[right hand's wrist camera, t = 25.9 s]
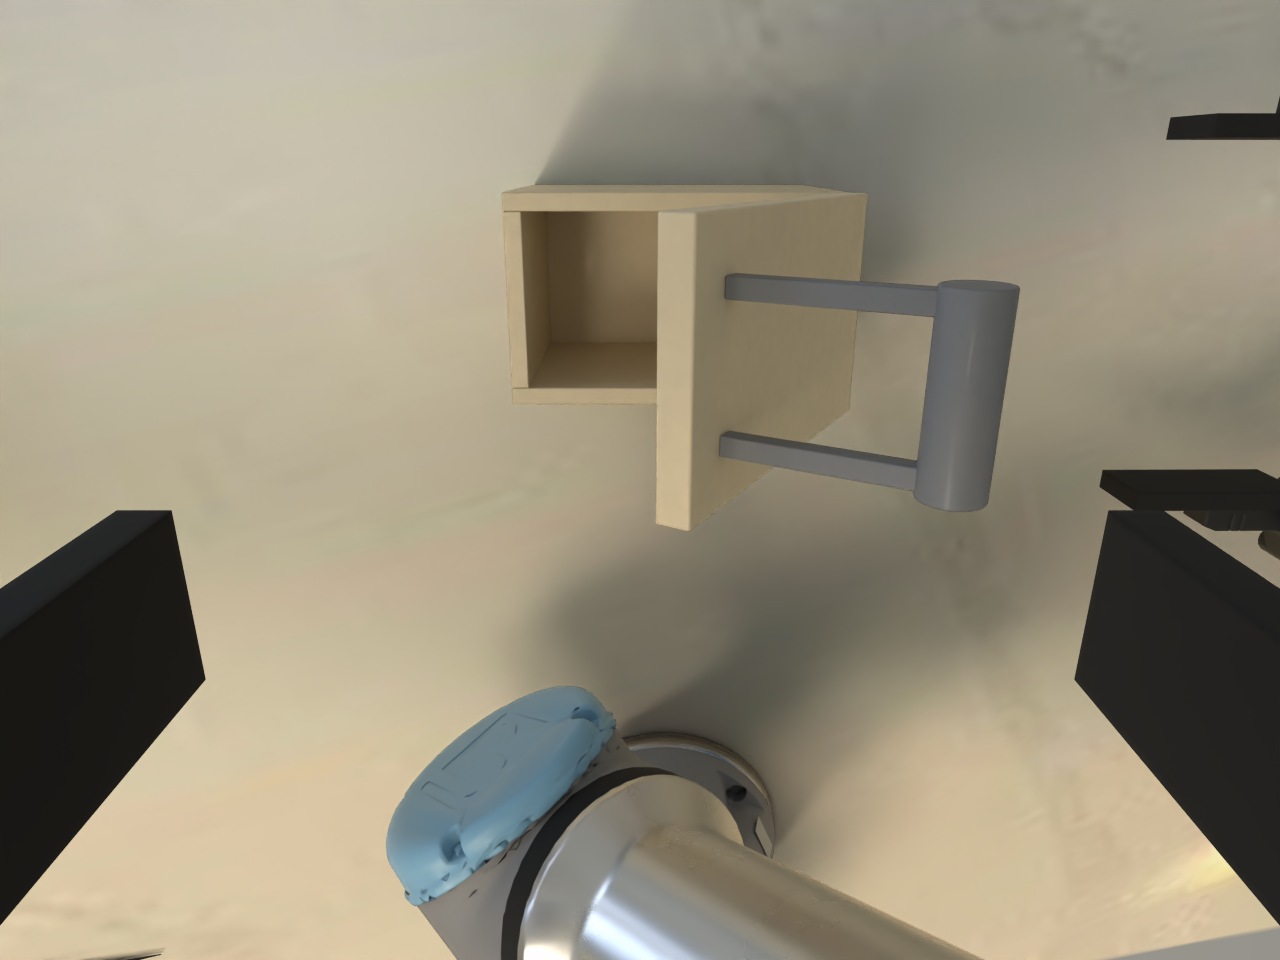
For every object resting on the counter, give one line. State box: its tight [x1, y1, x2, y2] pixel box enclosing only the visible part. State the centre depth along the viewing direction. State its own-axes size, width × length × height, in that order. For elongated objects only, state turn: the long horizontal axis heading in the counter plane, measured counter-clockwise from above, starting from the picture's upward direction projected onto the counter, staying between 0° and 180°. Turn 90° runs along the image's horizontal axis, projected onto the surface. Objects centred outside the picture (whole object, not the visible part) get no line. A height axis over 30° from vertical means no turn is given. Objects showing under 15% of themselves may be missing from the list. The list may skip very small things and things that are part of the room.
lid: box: [656, 193, 1020, 531], centre depth 29 cm, size 16×9×9 cm
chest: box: [502, 185, 849, 404], centre depth 43 cm, size 14×9×11 cm, turn 90°
